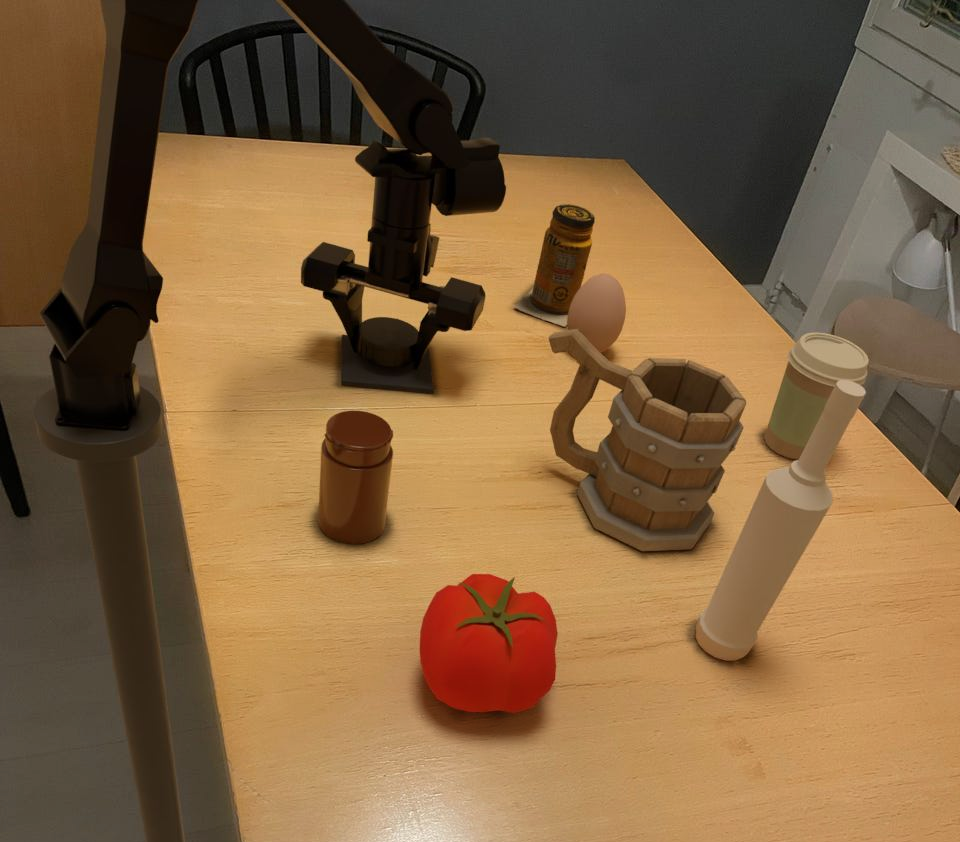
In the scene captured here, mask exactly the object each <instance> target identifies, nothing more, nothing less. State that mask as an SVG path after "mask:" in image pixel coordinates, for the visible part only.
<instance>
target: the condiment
mask: <svg viewBox="0 0 960 842" xmlns="http://www.w3.org/2000/svg"><path fill="white" fill-rule="evenodd" d="M595 218H596V217H595V215H594V214H593V213H592V212H591V211H590V210H589V209H587V208H585V207H582V206H579V205H576V204H572V203H571V204H568V203H567V204H565V203H563V204H559V205H556V206H555V208H554V209H553V210H552V217H551V219H550V222H549V227H547V228H546V229H545V232H544V236H543V241H542V246H541V251H540V256H539V260H538V263H537V269H536V273H535V278H534V282H533V285H532V288H531V289H530V290H529V291H528V292H527V293H526V294H525V295H524V296H522V297H521V299H520V300H518V302H517V303H515V304H514V305H513V306H512V308H514V309H517V310H519V311H520V312H523V313H525V314H528V315H531V316H532V317H535V318H538V319H541V320H542V321H547V322H550V323H553V324H555V325H558V326H561V327H564V328H566V326H567V317H568V312H569V309H570V305H571V302H572V300H573V298H574V296H575V294H576V293H577V291H578V290H579V289H580V287H581V286H582V285H583V281H584V278H585V272H586V269H587V264H588V260H589V256H590V253H591V249H592V246H593V239H592V237H591V236H592V234H593V232H594V230H593V229H594V224H595V223H596V222H595V221H596V219H595Z"/></svg>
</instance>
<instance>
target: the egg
mask: <svg viewBox="0 0 960 842" xmlns="http://www.w3.org/2000/svg"><path fill="white" fill-rule="evenodd" d="M626 304H627V303H626V296H625V293H624V289H623V287H622V284H621V283H620V282H619V280H618V279H617V278H616V277H614V276H613V275H612V274H610V273H598V274H595V275H592V276H591V277H590V278H588V279H587V280H586V281H585V282H584V283H582V285H581V287H580V289H579V290H578V291H577V293H576V294H575V296H574V298H573V300H572V302H571V305H570V309H569V312H568V317H567V325H566V326H567V327H566V328H567V330H573V329H578V330H579V331H580V332H581V333H582V334H583V335H584V336H585V337H586V339H587V340H588V341H589V342H590V343H591V344H592V345H593V346H594V347H595V348H596V349H597V350H598V351H599V352H600V353H602V352H603V353H604V352H605V351H607V350H608V349H609V348H611V346H613V345H614V344H615V343H616V341H617V340H618V338H619V337H620V335H621V333H622V331H623V327H624V324H625V321H626V313H627V306H626Z"/></svg>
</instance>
